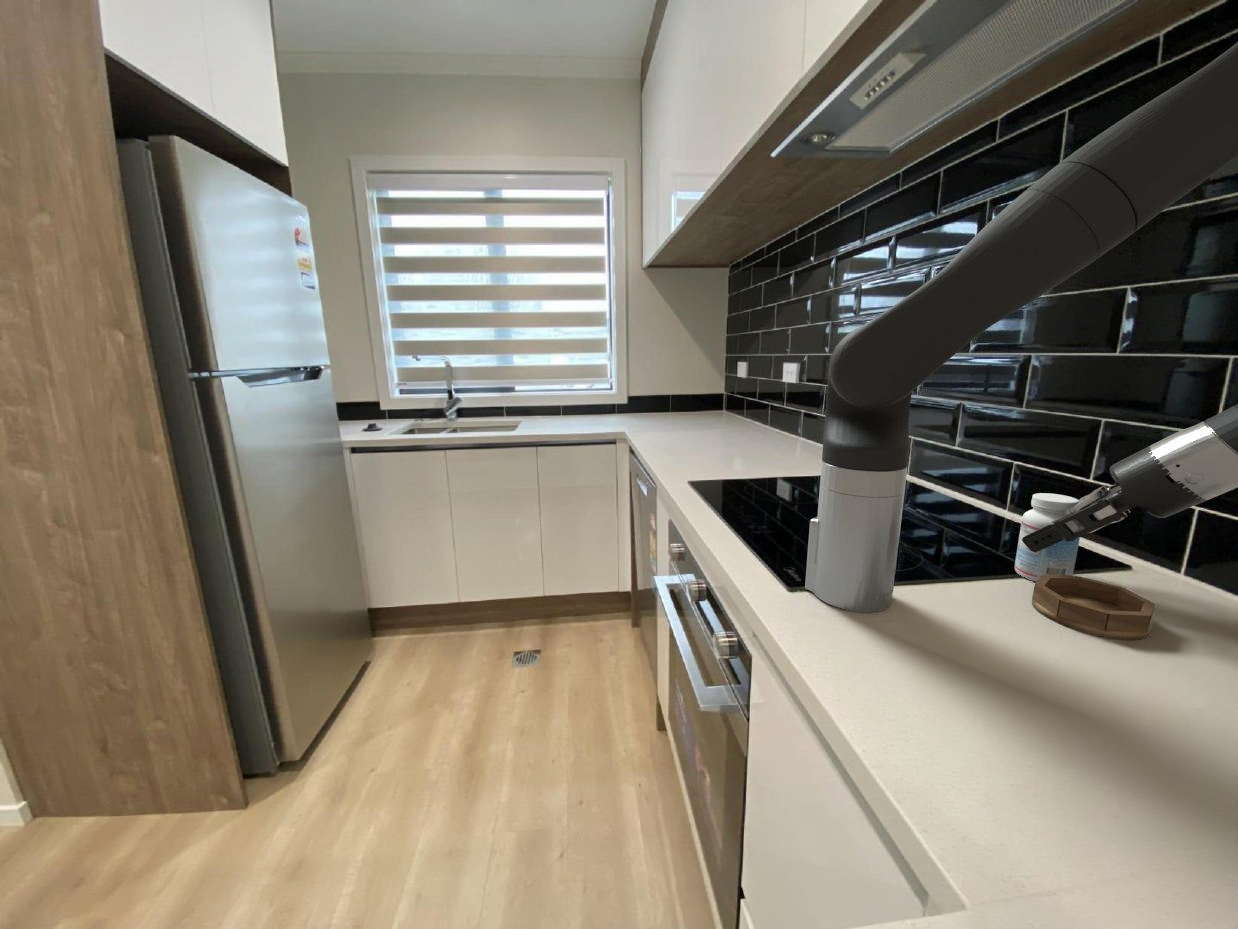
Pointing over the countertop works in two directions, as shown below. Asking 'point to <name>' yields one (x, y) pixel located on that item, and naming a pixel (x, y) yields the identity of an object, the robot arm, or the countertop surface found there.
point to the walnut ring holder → (1093, 607)
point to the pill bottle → (1055, 556)
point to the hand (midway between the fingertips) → (1035, 537)
